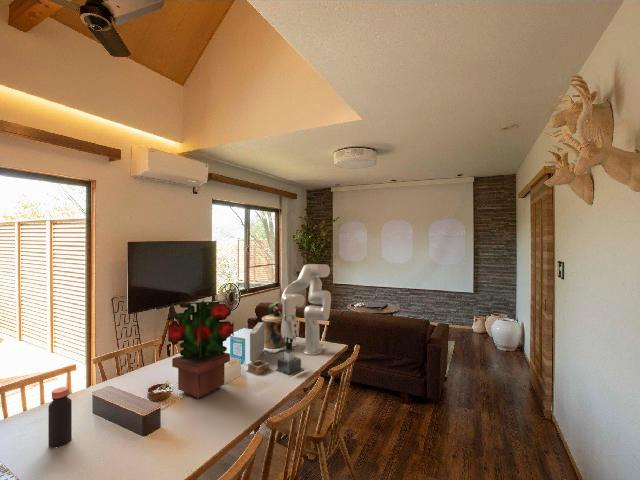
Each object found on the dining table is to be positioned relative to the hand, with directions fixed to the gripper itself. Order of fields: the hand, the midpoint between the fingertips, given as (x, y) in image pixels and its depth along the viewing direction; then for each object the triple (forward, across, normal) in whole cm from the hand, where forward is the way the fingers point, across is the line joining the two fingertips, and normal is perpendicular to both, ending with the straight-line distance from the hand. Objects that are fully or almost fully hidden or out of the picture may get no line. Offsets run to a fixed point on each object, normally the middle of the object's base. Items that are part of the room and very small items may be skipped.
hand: (289, 348), depth 185 cm
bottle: (+14, +22, +101) cm, 104 cm away
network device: (+13, +32, -3) cm, 35 cm away
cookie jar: (+13, +39, -26) cm, 49 cm away
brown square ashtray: (+13, +13, +12) cm, 22 cm away
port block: (+13, 0, 0) cm, 13 cm away
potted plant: (+13, +18, +45) cm, 50 cm away
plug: (+12, 0, 0) cm, 12 cm away
